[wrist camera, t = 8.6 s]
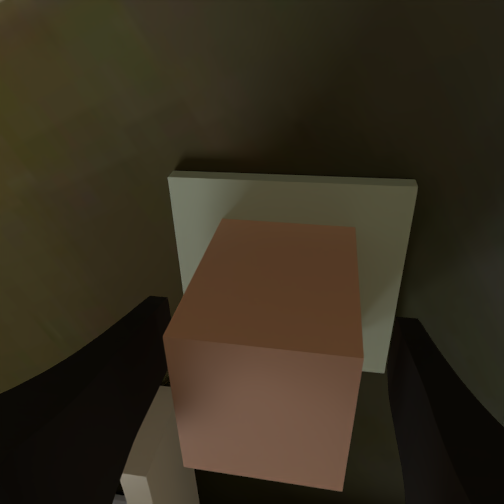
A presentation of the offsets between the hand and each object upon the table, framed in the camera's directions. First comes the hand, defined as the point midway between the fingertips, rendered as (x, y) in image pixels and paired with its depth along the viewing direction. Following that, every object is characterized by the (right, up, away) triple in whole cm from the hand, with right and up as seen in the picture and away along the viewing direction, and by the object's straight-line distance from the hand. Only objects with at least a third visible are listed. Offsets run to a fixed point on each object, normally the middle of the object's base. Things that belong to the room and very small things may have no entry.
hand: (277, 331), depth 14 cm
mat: (+1, +2, +3) cm, 3 cm away
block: (0, +1, +2) cm, 3 cm away
